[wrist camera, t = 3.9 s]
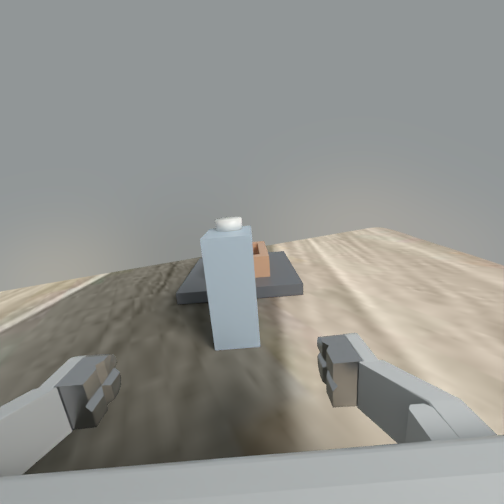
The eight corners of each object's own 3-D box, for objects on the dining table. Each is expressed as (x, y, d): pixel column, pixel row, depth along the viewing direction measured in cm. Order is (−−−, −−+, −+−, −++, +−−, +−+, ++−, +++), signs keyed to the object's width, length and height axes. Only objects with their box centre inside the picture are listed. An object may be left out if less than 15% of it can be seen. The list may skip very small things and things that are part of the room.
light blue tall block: (215, 350, 21) (198, 226, 18) (221, 319, 25) (208, 218, 23) (260, 346, 21) (250, 222, 18) (257, 317, 25) (250, 215, 23)
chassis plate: (177, 304, 30) (171, 270, 29) (201, 265, 45) (198, 242, 44) (303, 294, 30) (302, 260, 29) (283, 258, 45) (283, 235, 44)
